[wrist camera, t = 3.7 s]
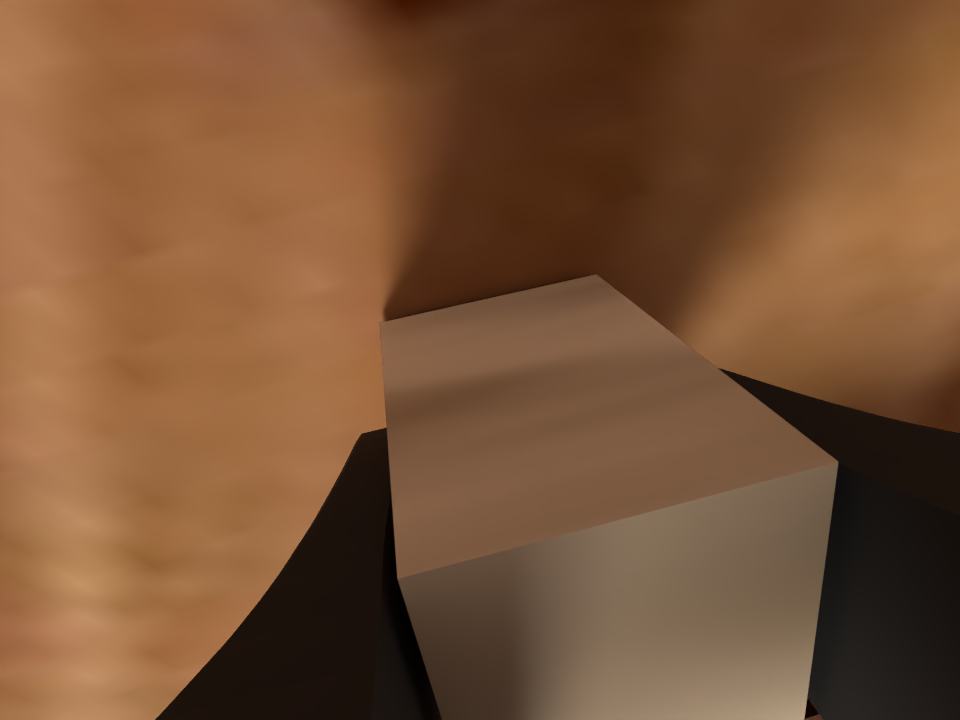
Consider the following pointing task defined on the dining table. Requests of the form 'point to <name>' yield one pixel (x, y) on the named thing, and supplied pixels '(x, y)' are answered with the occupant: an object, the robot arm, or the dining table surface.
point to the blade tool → (597, 516)
